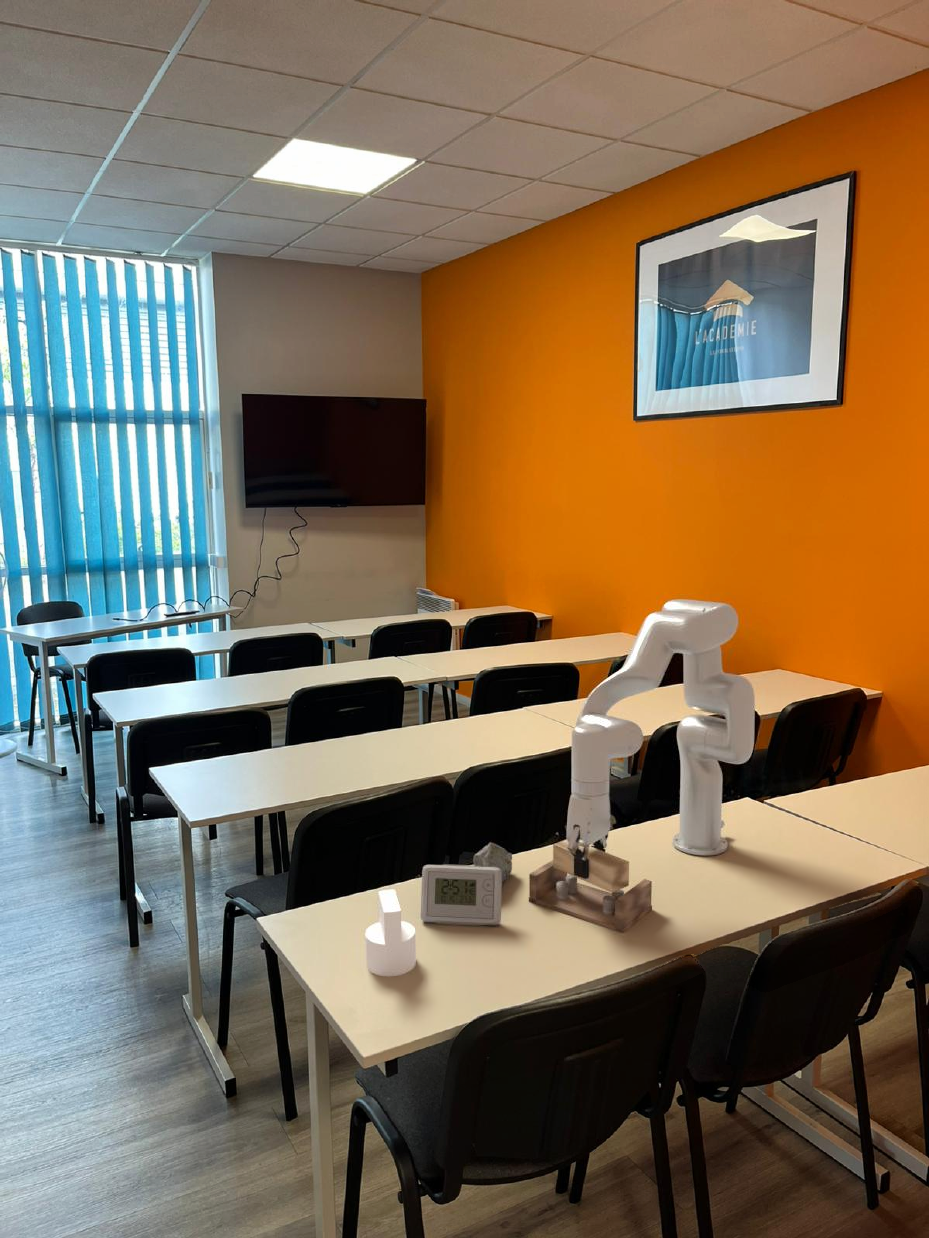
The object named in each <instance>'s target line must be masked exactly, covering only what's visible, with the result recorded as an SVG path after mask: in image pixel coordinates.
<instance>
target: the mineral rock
mask: <svg viewBox="0 0 929 1238" xmlns="http://www.w3.org/2000/svg"><path fill="white" fill-rule="evenodd" d="M512 860H513V853H510V852H508V851H507V850H506V849H505V847H504V848H503V846H502V847H501V846H500V845H498V844H496V843H493V842H489V843H488V844H487V845H485V846H484V847H483V848H482V849H480V850H478V851H477V853H475V854H474V856H473V859H472V861H473V866H482V867H496V868H499V869H501V872H502V883H503V882H504V881H505V880H507V879H508V878H510V875H511V873H512V871H513V862H512Z"/></svg>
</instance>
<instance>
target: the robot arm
mask: <svg viewBox="0 0 929 1238" xmlns="http://www.w3.org/2000/svg"><path fill="white" fill-rule="evenodd" d="M738 617H739V616H738V613H737V612H736V610H735V608H734V607H733V606H732V605H730V604H728V603H723V602H715V601H706V600H705V601H703V600H702V601H701V600H695V599H683V598H682V599H679V598H678V599H670V600H669V601H666V602H665V604H664V605H663V606H662V609H661V611H655V612H652V613H650V614H648V615H647V616H646V617H645V618H644V620H643V622H642V625H641V626H640V629H639V631H638V633H637V635H636V637H635V639H634V642H633V644H632V646H631V648H630V650H629V653H628V654H627V656H626V659H625V661H624V663H623V665H622V667H621V668H620V669H619V670H618V671H616V672H614V673H612V674H611V675H610V676H609V677H607V678H606V679H604V680H603V681H602V682H600V684H598V685H597V686H596V687H595V688H594V689H593V690H592V691H591V692H590V693H589V695H588V696H587V698H586V700H585V701H584V704H583V706H582V708H581V710H580V712H579V715H578V717H577V720H576V723H575V726H574V728H573V729H572V732H571V794H570V797H569V803H568V809H567V817H566V818H567V819H566V820H567V822H566V839H567V841H568V842H569V843H568V846H567V848H568V850H569V851H570V852H571V854H572V857H573V858H574V875H575V876H578V877H581V878H584V879H587V878H589V859H587V855H588V850H589V846H591V847H593V848H596V849H598V850H601V851H603V852H606V848H607V846H608V843H607V839H608V837H609V832H610V830H611V828H612V824H611V802H610V760H612V759H618V758H619V759H620V758H627V757H630V756H633V755H634V754H636V753H638V751H639V750H640V749H641V748H642V746H643V742H644V732H643V730H642V728H641V727H640V726H639V725H638V724H637V723H636V722H634V721H631V720H628V719H625V718H624V719H623V718H619V717H614V716H611V715H607V713H608V712H609V711H610V710H611V708H612V707H614V706H615V705H616V704H617V703H619V702H620V701H622V700H624V699H627V698H629V697H633V696H636V695H639V694H643V693H646V692H650V691H653V690H655V689H657V688H658V687H659V686H660V684H661V683H662V680H663V678H664V676H665V674H666V673H665V672H666V671H667V669H668V666H669V664H670V663H671V660H672V658H673V655H674V654H677V653H678V654H682V656H683V658H682V659H683V697H684V701H685V705H686V706H688V707H689V708H690V709H692V710H695V711H700V712H704V713H708V714H709V713H710V714H714V715H720V716H724V718H725V719H724V718H720V717H717V716H711V715H705V714H690V715H687V716H685V717H683V718H682V719H681V720H680V722H679V723H678V725H677V728H676V729H677V730H676V740H677V741H676V742H677V746H678V751H679V760H680V761H679V762H680V784H679V785H680V786H679V787H680V789H679V795H680V796H679V828H678V829H679V832H678V833H676V834H675V835H673V837H672V846H674V847H675V848H676V849H677V850H678V851H681V852H683V853H686V854H689V855H695V856H705V857H707V856H716V855H717V856H718V855H720V854H722V853H724V852H726V851H727V850H728V841H727V840H726V838H724V837H723V836H722V829H723V828H724V827H725V822H724V820H723V819H722V810H723V809H722V807H723V805H722V803H723V801H722V800H723V772H722V768H721V766H720V764H719V761H720V762H724V763H728V764H733V765H741V764H744V763H747V762H748V761H749V759H750V758H751V757H752V753H753V750H754V745H755V717H756V716H755V715H756V714H755V709H756V699H755V692H754V691H755V690H754V687H753V685H752V683H751V682H750V680H749V679H748V678H747V677H744V676H742V675H739V674H735V673H729V672H727V673H726V672H724V670H723V664H722V661H723V660H722V649H721V646H722V645H724V644H725V643H727V642H728V641H730V640H731V639H732V638H733V637H734V635H735V634H736V632H737V630H738V626H739V618H738ZM580 841H582V842H580ZM579 846H582V847H584V848H583V852H582V851H581V850H580V849H579Z"/></svg>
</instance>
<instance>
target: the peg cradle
mask: <svg viewBox="0 0 929 1238" xmlns="http://www.w3.org/2000/svg"><path fill="white" fill-rule="evenodd" d="M528 879H529V881H528V882H529V890H528V891H529V897H528V902H530V903H534V904H536V905H538V906H541V907H545V908H548V909H551V910H553V911H557V912H561V913H563V914H565V915H569V916H572V917H575V918H578V919H581V920H584V921H587V922H590V923H593V924H596V925H599V926H600V927H601V926H602V927H605V928H608V929H611V930H614V931H617V932H620V933H625V932H626V931H627V930H629V929H630V928H631V927H632V926H633V925H635V924H636V923H637V922H638V921H640V920H641V919H642V918H643V917H645V916H646V915H647V914H649V913H650V912H651V911H652V910H653V905H652V894H653V893H652V886H653V885H652V884H653V883H652V880H650V879H646V878H643V879H642V880H641V881H640V882H639V883H637V884H636V885H634V886H633V887H631V888H630V889H629V890H628V891H626V892H625V891H624V890H622V889H620V890H618V891H615V892H613V893H611V892H609V891H606V890H604V889H599V888H595V887H592V886H590V885H586V884H582V883H579V882H578V878H577V877H574V876H572V875H570V874H568V873H565V872H563V871H561V870H558V869H556V868H554V867H553V859H551V860H550V861H548V862H547V863H546V864H544V865H542V866H541V867H539V868H537V869H536V870H533V871H532V872H530V873H529V877H528Z"/></svg>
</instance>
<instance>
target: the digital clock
mask: <svg viewBox="0 0 929 1238" xmlns="http://www.w3.org/2000/svg"><path fill="white" fill-rule="evenodd" d="M421 871H422V873H421V874H422V875H421V891H420V897H421V898H420V900H421V901H420V919H421V921H423V922H425V923H437V924H439V925H456V926H458V925H459V926H460V925H461V926H480V927H481V926H498V925H499V924H500V923H501V920H502V883H503V882H502V872H501V869H499V868H496V867H482V866H474V865H469V864H467V865H466V864H446V863H445V864H426V865H424V866H423V867H422V870H421Z"/></svg>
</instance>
